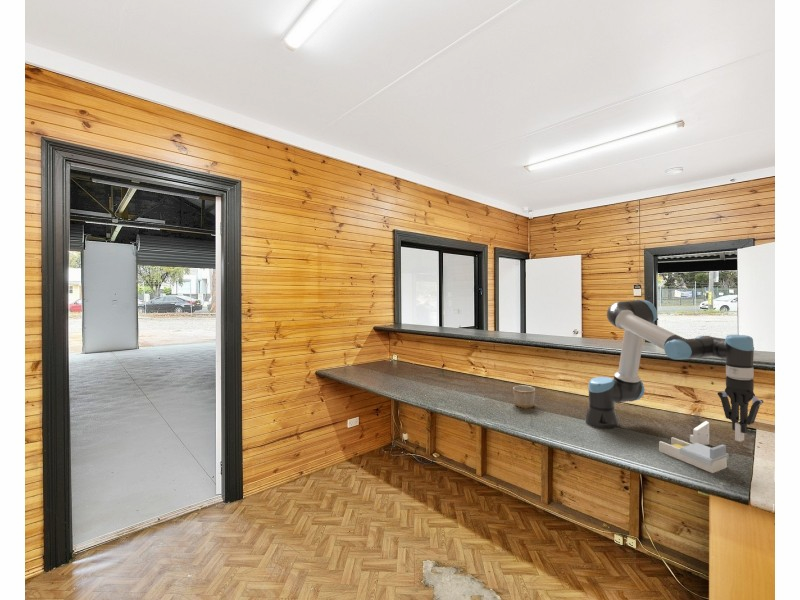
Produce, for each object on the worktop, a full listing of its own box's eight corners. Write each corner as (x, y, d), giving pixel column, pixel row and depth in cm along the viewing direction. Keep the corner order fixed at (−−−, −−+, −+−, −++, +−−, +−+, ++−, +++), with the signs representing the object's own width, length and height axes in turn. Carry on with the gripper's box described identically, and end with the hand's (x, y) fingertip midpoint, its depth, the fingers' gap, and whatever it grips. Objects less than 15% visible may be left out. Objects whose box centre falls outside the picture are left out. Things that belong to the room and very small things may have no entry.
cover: (679, 453, 151) (679, 439, 150) (697, 447, 155) (697, 433, 154) (710, 465, 140) (710, 450, 140) (728, 458, 145) (728, 444, 144)
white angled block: (718, 438, 163) (709, 422, 163) (699, 450, 163) (690, 434, 163) (711, 434, 167) (702, 419, 166) (693, 446, 167) (683, 431, 166)
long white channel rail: (659, 451, 160) (659, 441, 159) (672, 446, 163) (672, 437, 163) (712, 473, 141) (712, 462, 141) (726, 467, 144) (726, 456, 144)
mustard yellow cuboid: (671, 453, 158) (671, 445, 157) (676, 451, 159) (676, 443, 159) (684, 458, 153) (684, 450, 153) (689, 456, 154) (689, 448, 154)
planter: (513, 408, 218) (512, 391, 217) (513, 401, 230) (513, 384, 229) (535, 409, 214) (535, 392, 213) (535, 402, 226) (534, 385, 225)
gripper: (712, 374, 139) (712, 435, 141) (756, 383, 127) (756, 449, 129) (724, 372, 142) (724, 431, 143) (768, 379, 130) (768, 444, 131)
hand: (739, 440), depth 136 cm, fingers closed
